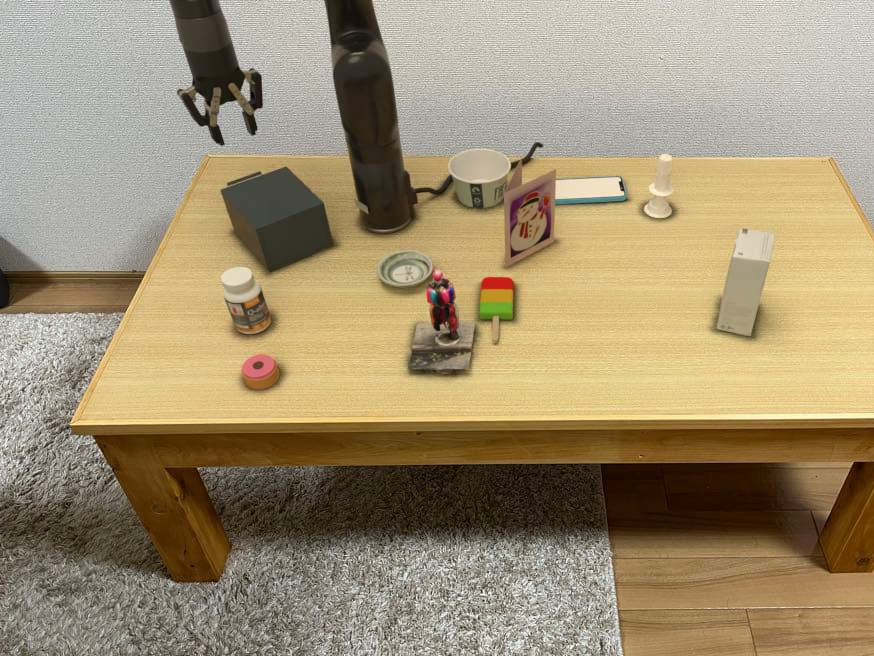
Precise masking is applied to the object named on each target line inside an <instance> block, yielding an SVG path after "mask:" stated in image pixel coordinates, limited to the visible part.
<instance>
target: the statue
mask: <svg viewBox="0 0 874 656" xmlns="http://www.w3.org/2000/svg"><path fill="white" fill-rule="evenodd" d="M432 279H433V280H432V281H429V282H428V285H427V287H426V290H425V291H426V293H425V294H426V296H425V297H426V302H427V303H428V304H429V317H430V322H417V324H416V328H415V333H414V337H413V341H412V345H411V349H410V350H411V351H410V352H411V355H410V358H409V362H408V365H407V367H406V369H407V370H423V371H425V372H426V373H428V374H432V373H433V371H435V370H436V372H438V373H440V374H443V375H444V374H445V375H450V374H451V373H452V372H455V371H456V370H461V369H462V370H463V369H467V370H468V369H469V366H470V362H471V356H472V354H473V353H472V345H474V334H475V326H476V323H475V322H460V312H459V307H458V306H457V303H456V302H455V300H456V298H457V296H456V291H455V287H454V286H455V285H454V284H453V281H451V280H450V279H449V278H445V276H444V272H443V271H442V270H441V269H439V268H435V269H434V268H433V271H432Z"/></svg>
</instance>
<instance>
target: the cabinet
mask: <svg viewBox="0 0 874 656" xmlns="http://www.w3.org/2000/svg"><path fill="white" fill-rule="evenodd" d="M279 168H280V169H278V168H276V169H277V170H275V169H273V170H274V171H272V170H271V171H272V172H269V171H268V172H269V173H267V172H265V173H266V174H264V173H262V174H263V175H260V176H258V177H255V178H252V179H249V180H246V181H243V182H241V183H238V184H235V185H232V186H229V187H227V186H225V187H226V188H224V187H223V188H224V189H221V188H220V191H219V192H220V194H221V197H222V200H223V202H224V206H225V208H226V210H227V214H228V217H229V221H230V222H231V226H232V228H233V232H234V233H235V234H236V236H237V237H238V238H239V239H240V240H241V241H242V242H243V244H244V245H245V246H246V247H247V248H248V250H249V252H251V253H252V254H253V256H254V257H255V258H256V259H257V260H258V262H260V263H261V265H262V266H263V267H264V268H265V269H266V270H267V272H268V273H271V272H274V271H277V270H279V269H281V268H283V267H286V266H288V265H291V264H293V263H295V262H298V261H301V260H303V259H305V258H308V257H310V256H313V255H315V254H317V253H319V252H322V251H324V250H327V249H330V248H332V247H334V245H335V244H334V240H333V236H332V232H331V227H330V222H329V218H328V215H327V210H326V206H325V203H324V201H322V199H321V198H320V197H318V195H317V194H315V193H314V192H313V191H312V190H311V189H310V188H309V187H308V186H307V185H306V184H305V183H304V182H303V181H302V180H301V179H300V178H299V177H298V176H297V175H296V174H295V173H294V172H292V170H291V169H290V168H289V167H288V166H283V167H279Z"/></svg>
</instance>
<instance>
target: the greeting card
mask: <svg viewBox="0 0 874 656" xmlns="http://www.w3.org/2000/svg"><path fill="white" fill-rule="evenodd" d="M522 159H523V157H521V158H520V159H519V160H520V162H519V164H518V166H516V168H515V169H514V173H513V174H512V176H511V177H510V180H509V182H508V184H507V185H506V188H505V192H504V198H503V214H504V215H503V217H504V220H503V221H504V252H505V258H504V259H505V268H507V267H509V266H511V265H513V264H515V263H516V262H518V261H521V260H523V259H524V258H526V257H528V256H529V255H532V254H533V253H535V252H537V251H539V250H541V249H544V248H545V247H547V246H549V245H552V243H554V242H555V221H556V220H555V219H556V218H555V216H556V204H555V190H556V179H557V168H554V169H553V170H551V171H549V172H546V173H545V174H542V175H540V176H537V177H536V178H534V179H531V180H529V181H527V182H525V183H523V164H522Z"/></svg>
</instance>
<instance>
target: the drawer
mask: <svg viewBox="0 0 874 656" xmlns="http://www.w3.org/2000/svg"><path fill="white" fill-rule="evenodd" d="M280 168H281V167H278V168H275V169H272V170H270V171H267V172H264V173H263V172H262V171H257V172H254V173H250V174H248V175H245V176H242V177H240V178H236V179H234V180H231V181H227V182H226V186H224V187H222V188H220V190H221V189H224V188H226V187H229V186H232V185H235V184H238V183H241V182H243V181H246V180H249V179H252V178H255V177H258V176H260V175H263V174H266V173H269V172H272V171H274V170H277V169H280Z"/></svg>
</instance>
